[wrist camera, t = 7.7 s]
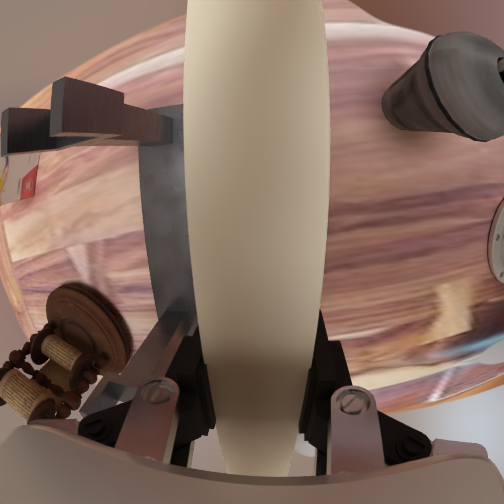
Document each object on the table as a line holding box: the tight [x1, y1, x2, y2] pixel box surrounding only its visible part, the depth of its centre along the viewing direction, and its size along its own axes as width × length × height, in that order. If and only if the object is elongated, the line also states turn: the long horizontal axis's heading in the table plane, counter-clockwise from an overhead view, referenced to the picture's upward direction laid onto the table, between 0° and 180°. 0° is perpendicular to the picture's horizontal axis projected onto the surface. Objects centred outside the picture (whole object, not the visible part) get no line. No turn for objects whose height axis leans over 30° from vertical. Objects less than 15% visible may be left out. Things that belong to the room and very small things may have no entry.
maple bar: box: [183, 0, 330, 477], centre depth 9 cm, size 3×24×3 cm, turn 0°
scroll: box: [0, 285, 129, 425], centre depth 24 cm, size 15×15×20 cm
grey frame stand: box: [1, 77, 198, 418], centre depth 19 cm, size 5×25×17 cm, turn 0°
